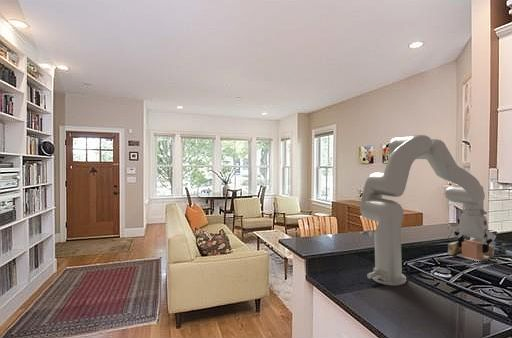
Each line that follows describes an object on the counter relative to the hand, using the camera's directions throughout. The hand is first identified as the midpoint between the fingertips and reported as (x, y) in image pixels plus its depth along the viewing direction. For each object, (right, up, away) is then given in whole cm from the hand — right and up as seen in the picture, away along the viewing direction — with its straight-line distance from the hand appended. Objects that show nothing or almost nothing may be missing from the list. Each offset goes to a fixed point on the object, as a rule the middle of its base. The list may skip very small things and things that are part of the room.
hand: (472, 249), depth 131 cm
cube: (0, -3, 0) cm, 3 cm away
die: (+11, -2, +9) cm, 14 cm away
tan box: (0, -3, +2) cm, 4 cm away
